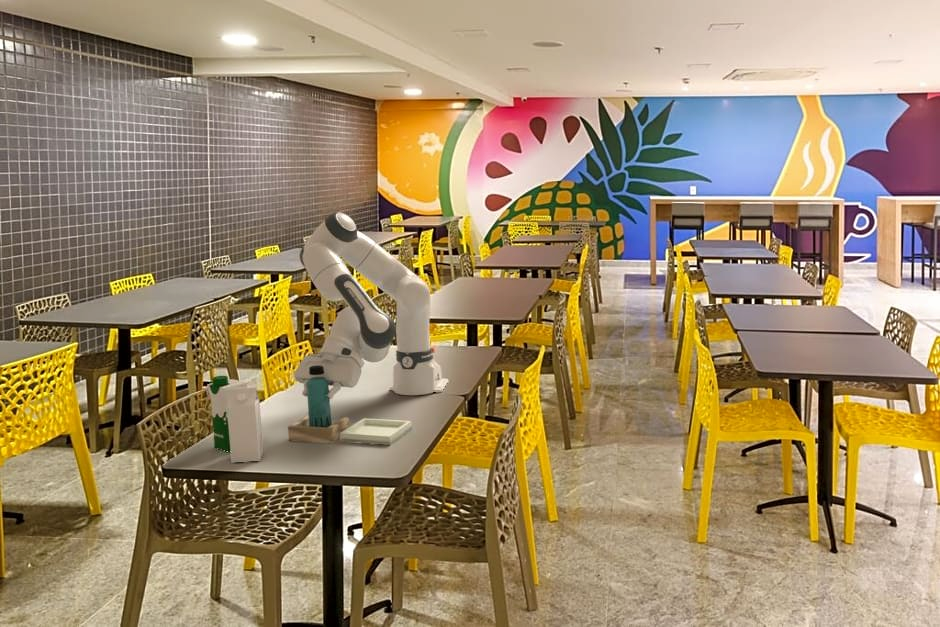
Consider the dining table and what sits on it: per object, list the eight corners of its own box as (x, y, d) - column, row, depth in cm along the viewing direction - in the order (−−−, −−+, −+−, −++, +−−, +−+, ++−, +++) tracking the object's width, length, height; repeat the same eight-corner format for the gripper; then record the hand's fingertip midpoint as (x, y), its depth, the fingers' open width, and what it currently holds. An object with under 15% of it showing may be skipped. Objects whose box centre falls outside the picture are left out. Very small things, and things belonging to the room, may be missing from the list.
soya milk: (209, 448, 239) (203, 377, 236) (237, 440, 246) (232, 370, 243) (227, 454, 234) (221, 381, 230) (256, 445, 240) (250, 374, 237)
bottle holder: (309, 428, 254) (308, 415, 254) (349, 431, 250) (348, 418, 249) (288, 440, 244) (287, 426, 243) (330, 443, 239) (329, 429, 239)
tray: (364, 426, 254) (363, 418, 254) (412, 429, 250) (411, 421, 249) (340, 441, 241) (339, 433, 240) (390, 445, 236) (389, 436, 235)
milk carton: (236, 455, 232) (230, 385, 229) (263, 453, 233) (258, 384, 230) (231, 464, 225) (225, 392, 222) (259, 462, 226) (253, 390, 223)
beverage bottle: (313, 440, 243) (308, 369, 240) (306, 434, 249) (301, 365, 246) (335, 436, 246) (331, 366, 243) (328, 430, 252) (323, 362, 249)
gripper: (301, 347, 255) (281, 387, 248) (359, 351, 245) (341, 393, 238) (311, 359, 259) (292, 399, 252) (369, 363, 250) (351, 405, 243)
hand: (316, 396), depth 245 cm, fingers closed on beverage bottle, 6 cm apart
